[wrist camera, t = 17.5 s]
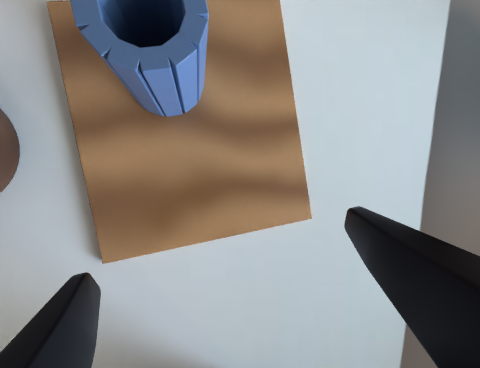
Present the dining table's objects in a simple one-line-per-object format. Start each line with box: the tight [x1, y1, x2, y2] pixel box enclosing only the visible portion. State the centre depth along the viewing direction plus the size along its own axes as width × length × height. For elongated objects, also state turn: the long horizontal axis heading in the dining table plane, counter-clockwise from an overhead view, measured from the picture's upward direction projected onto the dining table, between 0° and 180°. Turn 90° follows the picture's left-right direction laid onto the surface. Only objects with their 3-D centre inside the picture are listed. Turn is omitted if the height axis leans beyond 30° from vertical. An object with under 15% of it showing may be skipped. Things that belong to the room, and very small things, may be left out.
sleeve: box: [70, 0, 209, 117], centre depth 15 cm, size 6×6×8 cm
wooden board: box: [47, 0, 312, 264], centre depth 20 cm, size 20×18×1 cm
